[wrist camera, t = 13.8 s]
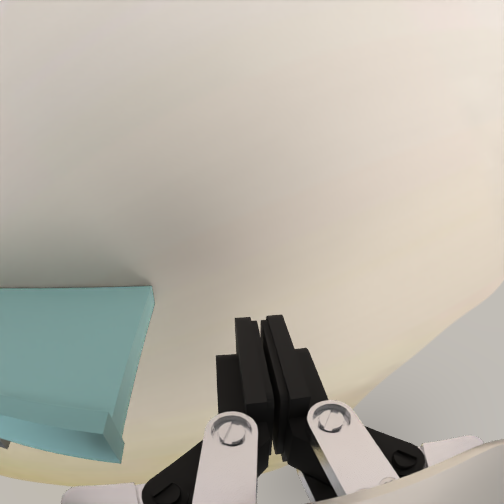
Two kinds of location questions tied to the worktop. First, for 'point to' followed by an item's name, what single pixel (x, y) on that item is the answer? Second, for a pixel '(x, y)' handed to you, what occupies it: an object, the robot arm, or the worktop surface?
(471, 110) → the worktop surface
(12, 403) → the flat teal rectangular block
